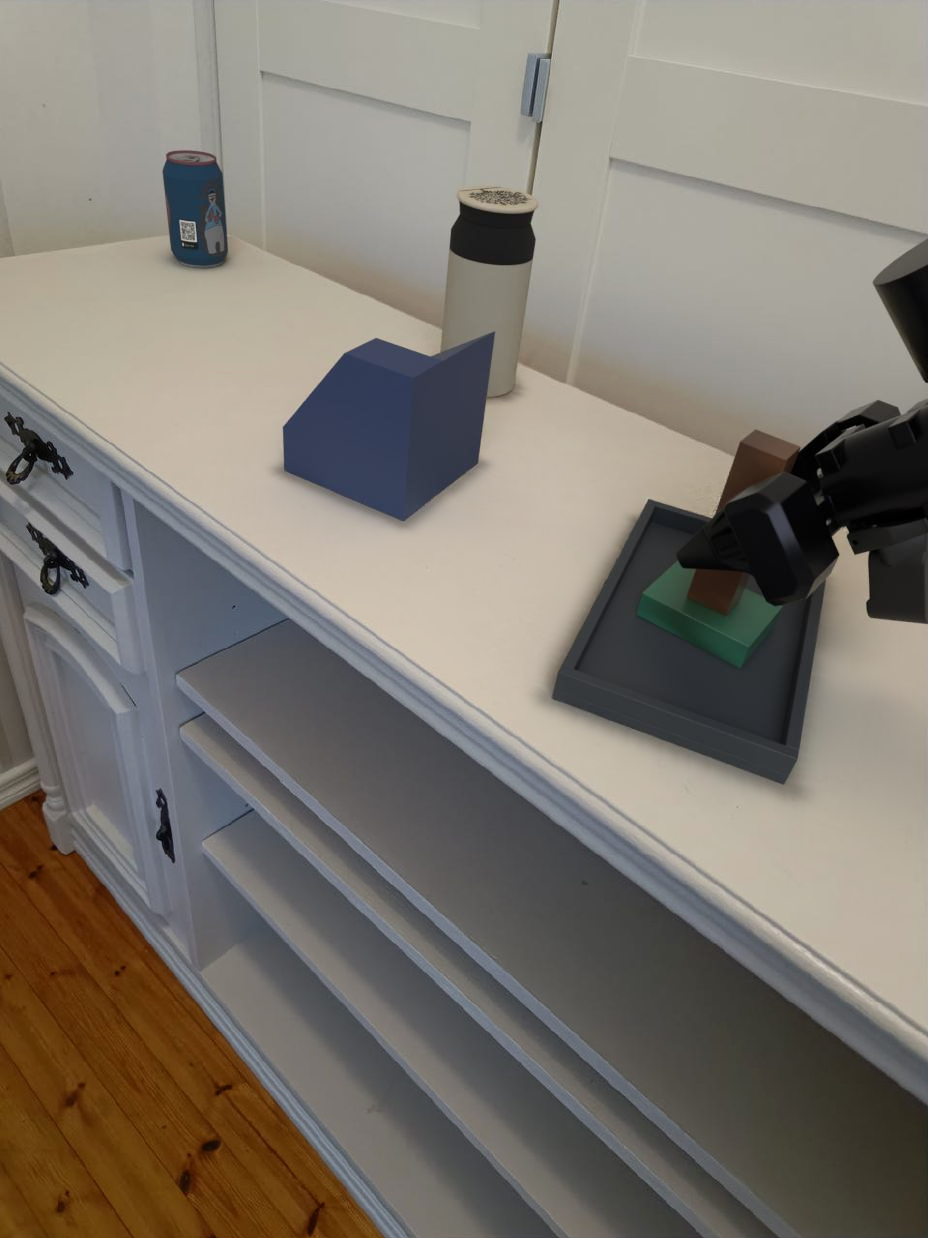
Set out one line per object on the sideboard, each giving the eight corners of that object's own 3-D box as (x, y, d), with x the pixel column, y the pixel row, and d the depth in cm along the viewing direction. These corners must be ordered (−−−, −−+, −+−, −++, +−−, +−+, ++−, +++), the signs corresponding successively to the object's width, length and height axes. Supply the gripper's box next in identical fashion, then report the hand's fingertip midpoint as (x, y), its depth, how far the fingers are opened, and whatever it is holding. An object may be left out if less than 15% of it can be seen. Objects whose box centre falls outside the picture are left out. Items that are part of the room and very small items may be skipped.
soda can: (183, 248, 111) (173, 145, 103) (235, 256, 111) (229, 153, 103) (163, 264, 106) (151, 157, 98) (218, 272, 106) (210, 166, 98)
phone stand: (367, 420, 80) (372, 291, 72) (478, 463, 76) (495, 330, 68) (284, 470, 71) (279, 329, 64) (403, 521, 67) (413, 377, 60)
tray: (641, 521, 71) (648, 498, 69) (819, 577, 67) (830, 553, 66) (551, 698, 54) (557, 672, 52) (784, 785, 50) (797, 759, 49)
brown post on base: (773, 627, 60) (851, 452, 51) (739, 669, 56) (817, 487, 48) (673, 578, 64) (730, 405, 55) (635, 614, 60) (689, 435, 51)
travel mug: (528, 393, 88) (558, 206, 76) (462, 404, 84) (483, 210, 73) (488, 362, 93) (510, 182, 81) (424, 372, 89) (438, 185, 78)
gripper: (971, 668, 39) (697, 708, 51) (1059, 523, 51) (818, 584, 63) (876, 451, 38) (617, 544, 50) (989, 353, 50) (757, 448, 62)
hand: (714, 533), depth 56 cm, fingers open, 9 cm apart
